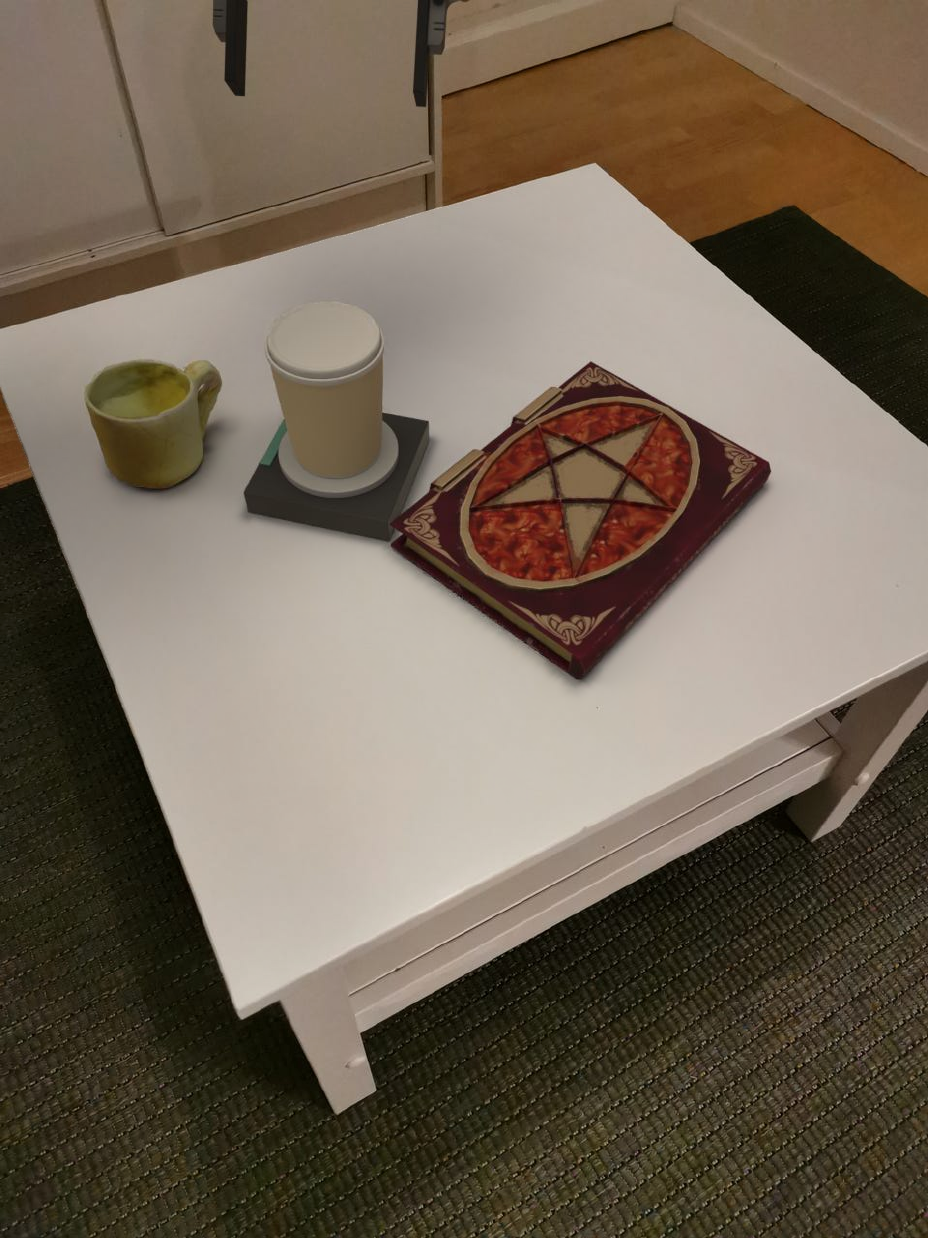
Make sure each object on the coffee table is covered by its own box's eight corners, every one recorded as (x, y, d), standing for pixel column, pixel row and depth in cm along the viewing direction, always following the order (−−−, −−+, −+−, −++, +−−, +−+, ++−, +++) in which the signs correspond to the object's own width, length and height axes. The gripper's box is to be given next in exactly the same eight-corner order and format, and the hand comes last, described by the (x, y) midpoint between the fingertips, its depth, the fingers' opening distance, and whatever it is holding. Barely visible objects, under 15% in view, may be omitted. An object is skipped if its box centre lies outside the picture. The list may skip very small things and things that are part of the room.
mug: (121, 511, 78) (96, 397, 73) (88, 471, 85) (63, 364, 80) (255, 479, 84) (242, 371, 78) (214, 444, 91) (199, 343, 86)
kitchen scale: (248, 512, 81) (241, 485, 78) (299, 415, 88) (295, 388, 86) (389, 541, 79) (387, 515, 76) (429, 440, 87) (429, 414, 84)
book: (580, 686, 71) (589, 651, 67) (383, 544, 79) (382, 505, 75) (763, 489, 84) (780, 450, 80) (579, 383, 92) (587, 343, 88)
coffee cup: (410, 436, 82) (406, 322, 72) (350, 501, 77) (337, 388, 68) (325, 399, 85) (311, 285, 75) (262, 460, 80) (238, 346, 70)
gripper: (518, -187, 67) (497, 123, 70) (181, -204, 68) (176, 104, 71) (521, -269, 60) (497, 81, 63) (143, -288, 60) (138, 60, 64)
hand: (327, 94), depth 67 cm, fingers open, 13 cm apart
